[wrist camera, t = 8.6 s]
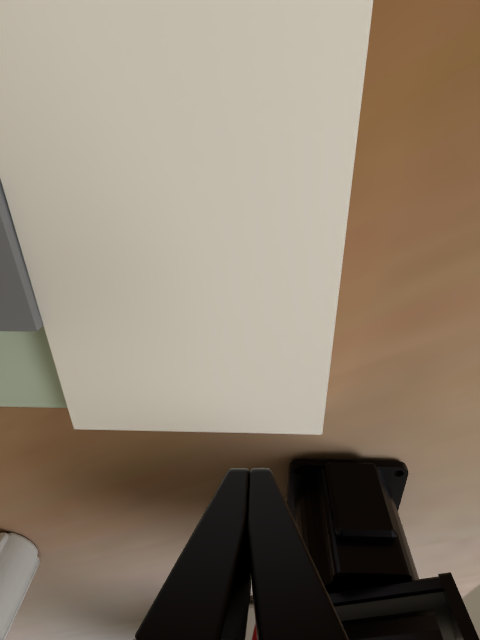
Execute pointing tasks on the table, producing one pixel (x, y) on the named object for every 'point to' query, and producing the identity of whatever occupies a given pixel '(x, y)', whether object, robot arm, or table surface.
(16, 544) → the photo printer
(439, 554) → the table surface
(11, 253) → the slate tile
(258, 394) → the cream block
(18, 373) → the sage mat
